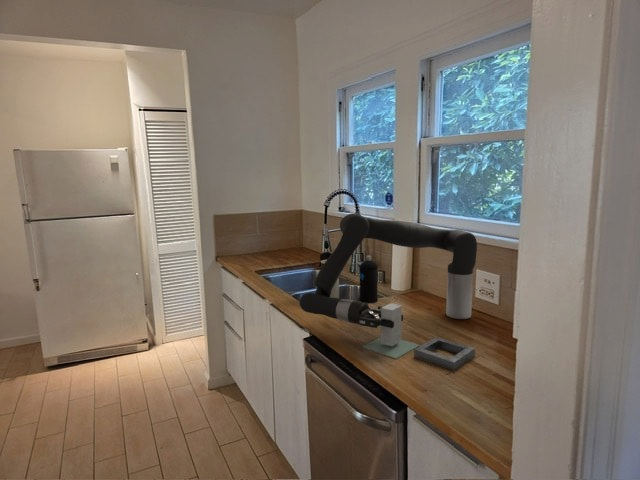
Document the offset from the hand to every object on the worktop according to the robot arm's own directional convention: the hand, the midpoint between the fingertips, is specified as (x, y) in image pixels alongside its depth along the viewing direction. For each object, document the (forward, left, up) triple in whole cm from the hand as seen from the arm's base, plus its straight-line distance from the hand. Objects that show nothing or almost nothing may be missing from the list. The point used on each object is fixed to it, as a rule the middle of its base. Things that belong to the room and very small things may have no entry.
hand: (398, 321), depth 130 cm
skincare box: (0, -2, -8) cm, 8 cm away
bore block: (-5, +14, -9) cm, 17 cm away
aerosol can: (-34, -38, -9) cm, 52 cm away
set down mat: (0, -2, -9) cm, 9 cm away
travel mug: (-22, -50, -9) cm, 56 cm away
